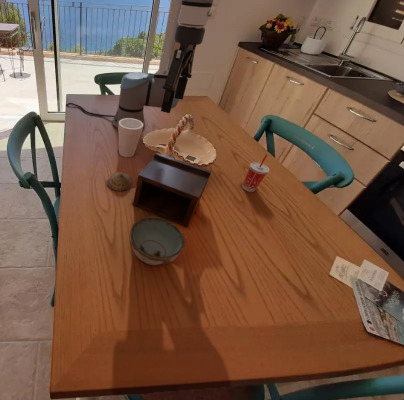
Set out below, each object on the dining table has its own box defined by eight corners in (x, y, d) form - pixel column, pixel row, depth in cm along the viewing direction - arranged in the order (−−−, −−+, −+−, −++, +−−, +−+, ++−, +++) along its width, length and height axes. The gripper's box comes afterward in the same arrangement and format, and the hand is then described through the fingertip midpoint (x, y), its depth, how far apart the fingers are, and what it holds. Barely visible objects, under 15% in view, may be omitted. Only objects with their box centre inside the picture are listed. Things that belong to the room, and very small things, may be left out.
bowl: (165, 286, 65) (173, 267, 60) (117, 261, 70) (120, 241, 65) (183, 249, 74) (192, 230, 69) (139, 229, 79) (144, 209, 73)
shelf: (132, 204, 87) (139, 171, 78) (148, 184, 95) (155, 152, 87) (186, 227, 80) (200, 194, 71) (198, 203, 89) (211, 171, 80)
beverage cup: (259, 188, 97) (279, 154, 88) (254, 195, 94) (273, 161, 84) (243, 180, 100) (260, 147, 91) (236, 187, 97) (254, 154, 87)
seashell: (134, 173, 96) (130, 177, 89) (130, 188, 98) (127, 193, 91) (112, 168, 98) (107, 171, 90) (109, 182, 100) (104, 187, 92)
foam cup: (112, 155, 109) (115, 125, 100) (119, 145, 115) (122, 116, 106) (134, 161, 106) (139, 131, 98) (140, 150, 113) (145, 121, 104)
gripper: (193, 33, 61) (171, 121, 75) (215, 22, 78) (193, 96, 92) (162, 29, 64) (146, 115, 77) (189, 19, 80) (172, 91, 94)
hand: (172, 105), depth 85 cm, fingers open, 13 cm apart
